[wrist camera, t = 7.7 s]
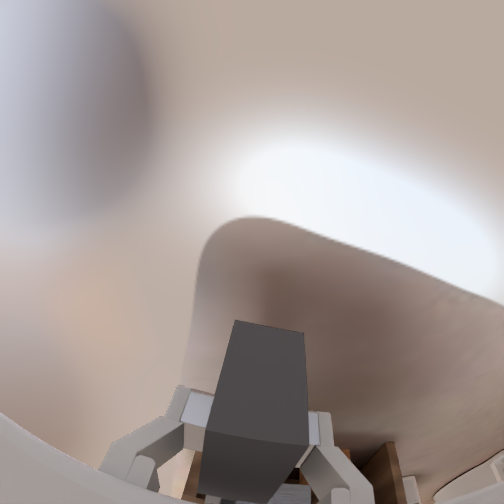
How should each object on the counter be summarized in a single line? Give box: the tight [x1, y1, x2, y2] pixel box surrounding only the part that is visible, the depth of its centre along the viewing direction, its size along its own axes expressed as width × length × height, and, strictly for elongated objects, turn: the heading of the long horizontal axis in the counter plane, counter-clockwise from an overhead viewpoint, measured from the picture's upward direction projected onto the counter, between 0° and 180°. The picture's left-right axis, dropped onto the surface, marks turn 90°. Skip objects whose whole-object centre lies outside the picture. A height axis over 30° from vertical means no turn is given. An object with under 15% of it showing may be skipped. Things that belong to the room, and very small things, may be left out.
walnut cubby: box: [181, 442, 407, 504], centre depth 21 cm, size 19×10×9 cm, turn 80°
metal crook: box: [197, 320, 311, 504], centre depth 11 cm, size 7×16×5 cm, turn 170°
